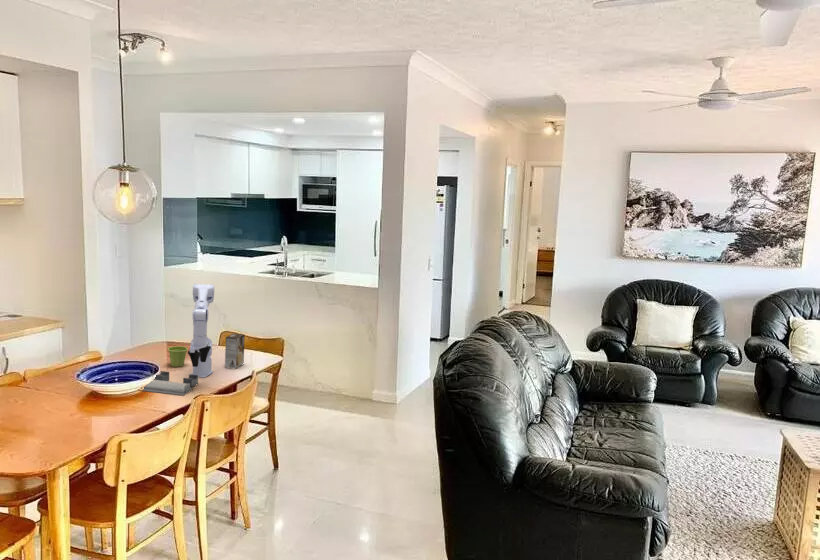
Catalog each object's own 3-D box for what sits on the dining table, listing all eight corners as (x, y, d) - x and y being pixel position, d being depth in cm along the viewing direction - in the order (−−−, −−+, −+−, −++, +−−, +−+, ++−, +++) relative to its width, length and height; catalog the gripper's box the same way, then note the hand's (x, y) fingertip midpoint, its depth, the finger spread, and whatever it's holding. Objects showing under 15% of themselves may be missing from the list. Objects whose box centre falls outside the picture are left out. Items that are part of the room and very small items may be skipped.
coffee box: (232, 363, 314) (233, 332, 311) (244, 364, 313) (245, 334, 310) (224, 367, 305) (225, 336, 302) (236, 369, 304) (237, 338, 301)
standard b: (161, 379, 280) (161, 370, 279) (169, 380, 279) (169, 371, 279) (153, 383, 274) (153, 374, 273) (162, 384, 273) (162, 375, 273)
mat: (149, 384, 272) (149, 383, 272) (193, 389, 270) (193, 388, 270) (137, 390, 264) (137, 389, 263) (183, 395, 261) (183, 395, 261)
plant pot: (191, 364, 306) (191, 347, 305) (179, 369, 297) (180, 352, 296) (175, 361, 308) (175, 345, 307) (163, 366, 299) (163, 349, 298)
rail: (146, 385, 270) (146, 378, 269) (190, 390, 268) (190, 383, 267) (141, 387, 266) (141, 380, 266) (186, 393, 264) (186, 386, 263)
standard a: (189, 383, 278) (189, 374, 278) (197, 383, 278) (198, 375, 277) (183, 387, 272) (183, 378, 272) (191, 388, 272) (191, 379, 271)
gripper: (199, 330, 279) (198, 358, 281) (183, 337, 265) (182, 367, 267) (213, 332, 279) (212, 360, 281) (198, 339, 264) (197, 369, 266)
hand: (199, 364), depth 274 cm, fingers open, 7 cm apart
